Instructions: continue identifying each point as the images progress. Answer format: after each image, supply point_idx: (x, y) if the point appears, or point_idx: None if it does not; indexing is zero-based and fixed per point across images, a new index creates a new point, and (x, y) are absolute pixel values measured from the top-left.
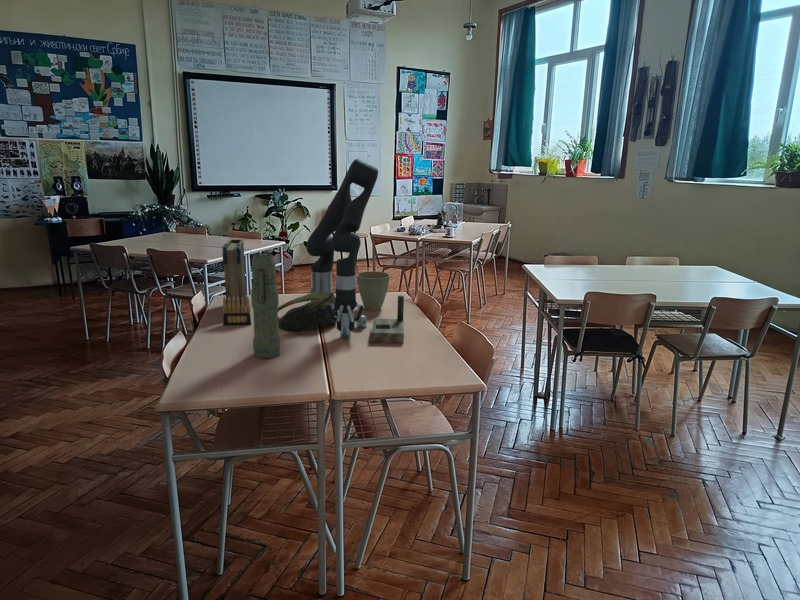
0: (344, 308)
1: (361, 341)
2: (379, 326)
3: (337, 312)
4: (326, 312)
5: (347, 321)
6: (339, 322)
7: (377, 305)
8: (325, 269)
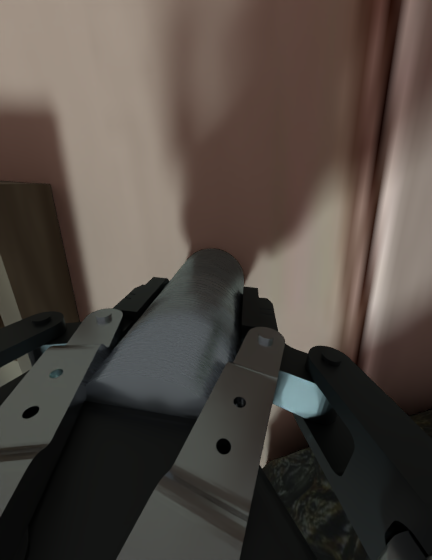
0: (120, 518)
1: (111, 210)
2: None
3: None
4: (352, 528)
5: (158, 306)
6: (248, 322)
7: None
8: None
